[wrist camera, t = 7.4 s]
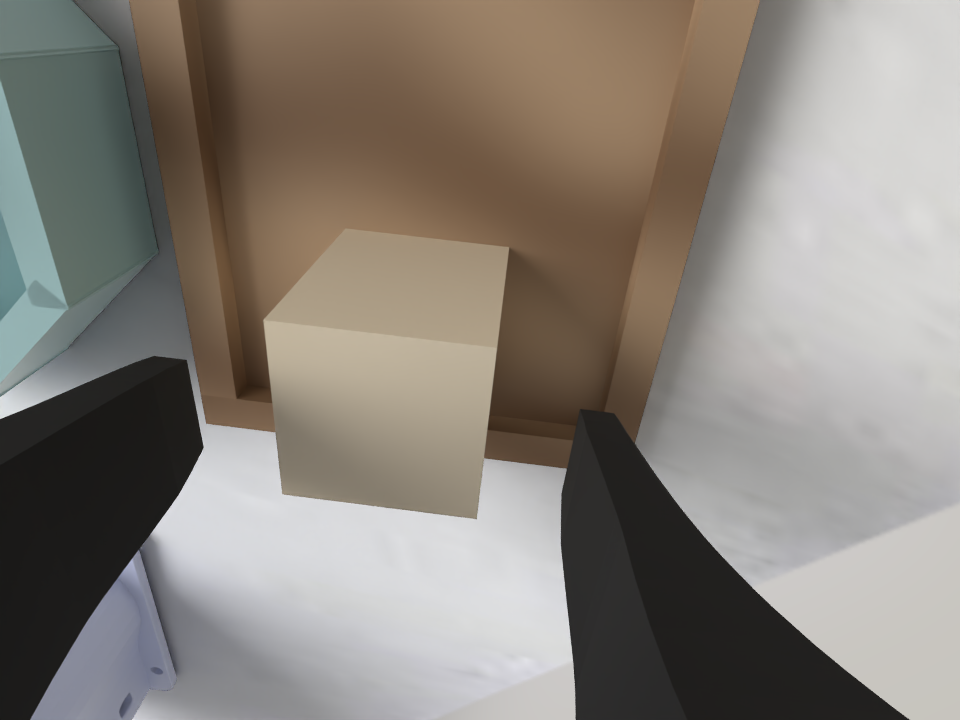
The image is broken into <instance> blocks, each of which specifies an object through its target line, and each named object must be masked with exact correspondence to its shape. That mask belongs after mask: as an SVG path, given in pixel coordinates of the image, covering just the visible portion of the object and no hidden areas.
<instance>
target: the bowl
mask: <svg viewBox="0 0 960 720" xmlns="http://www.w3.org/2000/svg"><path fill="white" fill-rule="evenodd" d="M158 252H159V250H158V248H157V243H156V238H155V233H154V228H153V223H152V218H151V213H150V208H149V203H148V198H147V193H146V188H145V183H144V177H143V172H142V167H141V162H140V157H139V152H138V147H137V142H136V137H135V132H134V127H133V122H132V117H131V112H130V107H129V102H128V97H127V91H126V86H125V81H124V76H123V71H122V66H121V61H120V56H119V48H118V46H117V45H115V44H114V43H113V42H112V41H111V40H110V39H109V38H108V37H107V36H106V35H105V34H104V32H103V31H102V30H101V29H100V28H99V27H98V26H97V25H96V24H95V23H94V22H93V21H92V20H91V19H90V18H89V17H88V16H87V15H86V14H85V13H84V12H83V11H82V10H81V9H80V8H79V7H78V6H77V5H76V4H75V3H74V2H73V1H72V0H0V397H1V396H2V395H3V394H5V393H6V392H8V391H9V390H11V389H12V388H13V387H15V386H16V385H18V384H19V383H20V382H22V381H23V380H25V379H26V378H27V377H29V376H30V375H32V374H33V373H34V372H36V371H37V370H39V369H40V368H41V367H43V366H44V365H46V364H47V363H48V362H50V361H51V360H53V359H54V358H55V357H57V356H58V355H60V354H61V353H62V352H64V351H65V350H67V349H68V348H69V346H70V344H71V343H72V342H73V341H74V340H75V339H76V338H77V337H78V336H79V335H80V334H81V333H82V332H83V331H84V330H85V329H86V328H87V327H88V325H89V324H90V323H91V322H92V321H93V320H94V319H95V318H96V317H97V316H98V315H99V314H100V313H101V312H102V311H103V310H104V309H105V308H106V306H107V305H108V304H109V303H110V302H111V301H112V300H113V299H114V298H115V297H116V296H117V295H118V294H119V293H120V292H121V291H122V290H123V288H124V287H125V286H126V285H127V284H128V283H129V282H130V281H131V280H132V279H133V278H134V277H135V276H136V275H137V274H138V273H139V272H140V271H141V269H142V268H143V267H144V266H145V265H146V264H147V263H148V262H149V261H150V260H151V259H152V258H153V257H154V256H155V255H157V254H158Z"/></svg>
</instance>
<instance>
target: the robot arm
mask: <svg viewBox="0 0 960 720" xmlns="http://www.w3.org/2000/svg"><path fill="white" fill-rule="evenodd" d="M203 448H204V447H203V442H202V437H201V432H200V427H199V422H198V416H197V411H196V406H195V401H194V396H193V391H192V385H191V380H190V375H189V370H188V365H187V360H182V359H174V358H166V357H158V356H153V357H150V358H147V359H144V360H141V361H138V362H135V363H133V364H130V365H128V366H125V367H123V368H120V369H118V370H116V371H113V372H111V373H108V374H106V375H104V376H101V377H99V378H97V379H94V380H92V381H90V382H87V383H85V384H83V385H81V386H78V387H76V388H74V389H71V390H69V391H67V392H64V393H62V394H60V395H57V396H55V397H53V398H50V399H48V400H46V401H43V402H41V403H39V404H37V405H34V406H32V407H29V408H27V409H25V410H22V411H20V412H17V413H15V414H12V415H10V416H7V417H5V418H2V419H0V720H132V719H133V717H134V715H135V714H136V712H137V710H138V708H139V707H140V705H141V703H142V701H143V700H144V698H145V696H146V694H147V693H148V691H149V689H155V690H162V691H168V690H171V689H172V688H173V687H174V685H175V683H176V681H177V677H176V674H175V670H174V667H173V664H172V660H171V657H170V653H169V650H168V647H167V643H166V640H165V636H164V633H163V630H162V626H161V623H160V620H159V616H158V613H157V609H156V606H155V603H154V599H153V596H152V592H151V589H150V586H149V582H148V579H147V575H146V572H145V569H144V565H143V562H142V558H141V555H140V552H139V549H140V547H141V546H142V545H143V543H144V542H145V541H146V539H147V538H148V537H149V535H150V534H151V533H152V531H153V530H154V528H155V527H156V526H157V524H158V523H159V521H160V520H161V519H162V517H163V516H164V515H165V513H166V512H167V510H168V509H169V508H170V506H171V505H172V503H173V502H174V501H175V499H176V498H177V496H178V495H179V493H180V491H181V490H182V488H183V486H184V484H185V482H186V481H187V479H188V477H189V475H190V474H191V472H192V470H193V468H194V466H195V464H196V462H197V460H198V458H199V456H200V454H201V452H202V450H203ZM561 550H562V560H563V570H564V580H565V589H566V598H567V608H568V617H569V626H570V635H571V645H572V654H573V663H574V679H575V697H576V699H575V701H576V702H575V703H576V720H909V719H907V718H906V717H905V716H904V715H902V714H901V713H900V712H898V711H897V710H896V709H894V708H893V707H892V706H890V705H889V704H888V703H887V702H885V701H884V700H883V699H882V698H880V697H879V696H878V695H876V694H875V693H874V692H873V691H871V690H870V689H868V688H867V687H866V686H865V685H864V684H862V683H861V682H860V681H858V680H857V679H856V678H855V677H853V676H852V675H851V674H849V673H848V672H847V671H846V670H844V669H843V668H842V667H841V666H840V665H838V664H837V663H836V662H835V661H834V660H832V659H831V658H830V657H829V656H827V655H826V654H825V653H824V652H823V651H822V650H820V649H819V648H818V647H816V646H815V645H814V644H813V643H812V642H811V641H810V640H808V639H807V638H806V637H805V636H804V635H803V634H802V633H801V632H800V631H799V630H797V629H796V628H795V627H794V626H793V625H792V624H791V623H790V622H788V621H787V620H786V619H785V618H784V617H783V616H782V615H781V614H780V613H778V612H777V611H776V610H775V609H774V608H773V607H771V606H770V604H769V603H768V602H767V601H765V600H764V599H763V598H762V597H761V596H760V595H759V594H758V593H757V592H756V591H755V590H754V589H753V588H752V587H751V586H750V585H749V584H748V583H747V582H746V581H745V580H744V579H743V578H742V577H741V576H740V575H739V574H738V573H737V572H736V571H735V570H734V569H733V567H732V566H731V565H730V564H729V563H728V562H727V561H726V560H725V559H724V558H723V557H722V556H721V555H720V554H719V553H718V552H717V551H716V550H715V548H714V547H713V546H712V545H711V544H710V543H709V542H708V541H707V540H706V538H705V537H704V536H703V535H702V534H701V532H700V531H699V530H698V529H697V528H696V526H695V525H694V524H693V523H692V522H691V520H690V519H689V518H688V517H687V516H686V514H685V513H684V512H683V510H682V509H681V508H680V507H679V505H678V504H677V503H676V501H675V500H674V499H673V497H672V496H671V495H670V493H669V492H668V491H667V489H666V488H665V487H664V485H663V484H662V483H661V481H660V480H659V478H658V477H657V476H656V474H655V473H654V471H653V470H652V469H651V467H650V466H649V464H648V463H647V461H646V460H645V458H644V457H643V455H642V454H641V453H640V451H639V450H638V448H637V447H636V445H635V443H634V442H633V440H632V439H631V437H630V436H629V434H628V433H627V431H626V430H625V428H624V427H623V425H622V423H621V422H620V420H619V419H618V418H617V416H616V415H615V414H614V413H609V412H601V411H593V410H585V409H580V411H579V416H578V420H577V425H576V430H575V434H574V439H573V443H572V448H571V453H570V457H569V462H568V467H567V471H566V476H565V480H564V485H563V490H562V500H561Z"/></svg>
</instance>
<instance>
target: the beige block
mask: <svg viewBox="0 0 960 720" xmlns="http://www.w3.org/2000/svg"><path fill="white" fill-rule="evenodd" d="M508 253H509V247H502V246H494V245H485V244H476V243H468V242H459V241H450V240H441V239H433V238H424V237H415V236H407V235H398V234H389V233H381V232H372V231H363V230H354V229H346V228H345V230H344V231H343V232H342V233H341V234H340V235H339V236H338V237H337V238H336V240H335V241H334V242H333V243H332V244H331V245H330V246H329V247H328V249H327V250H326V251H325V252H324V253H323V254H322V255H321V256H320V257H319V259H318V260H317V261H316V262H315V263H314V264H313V265H312V266H311V267H310V269H309V270H308V271H307V272H306V273H305V274H304V275H303V276H302V278H301V279H300V280H299V281H298V282H297V283H296V284H295V285H294V286H293V288H292V289H291V290H290V291H289V292H288V293H287V294H286V295H285V296H284V298H283V299H282V300H281V301H280V302H279V303H278V304H277V305H276V307H275V308H274V309H273V310H272V311H271V312H270V313H269V314H268V315H267V317H266V318H265V319H264V320H263V321H264V330H265V340H266V349H267V358H268V367H269V376H270V385H271V395H272V404H273V413H274V422H275V431H276V440H277V449H278V459H279V468H280V477H281V486H282V494H284V495H292V496H300V497H308V498H315V499H323V500H331V501H339V502H347V503H355V504H363V505H370V506H378V507H386V508H394V509H402V510H410V511H418V512H425V513H433V514H441V515H449V516H457V517H465V518H473V519H477V511H478V503H479V495H480V486H481V478H482V470H483V461H484V453H485V445H486V436H487V428H488V420H489V412H490V403H491V395H492V387H493V378H494V370H495V362H496V353H497V345H498V337H499V328H500V320H501V312H502V303H503V295H504V287H505V278H506V270H507V262H508Z"/></svg>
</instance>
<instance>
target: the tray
mask: <svg viewBox="0 0 960 720" xmlns="http://www.w3.org/2000/svg"><path fill="white" fill-rule="evenodd" d="M129 3H130V9H131V14H132V20H133V25H134V31H135V36H136V42H137V47H138V53H139V58H140V64H141V69H142V75H143V80H144V85H145V91H146V96H147V102H148V107H149V113H150V118H151V124H152V129H153V135H154V140H155V146H156V151H157V157H158V162H159V168H160V173H161V179H162V184H163V190H164V195H165V200H166V206H167V211H168V217H169V222H170V228H171V233H172V239H173V244H174V250H175V255H176V261H177V266H178V272H179V277H180V283H181V288H182V294H183V299H184V305H185V310H186V315H187V321H188V326H189V332H190V337H191V343H192V348H193V354H194V359H195V365H196V370H197V376H198V381H199V387H200V392H201V398H202V403H203V409H204V414H205V419H206V424H213V425H221V426H230V427H238V428H246V429H254V430H262V431H270V432H276V431H275V422H274V413H273V404H272V395H271V385H270V376H269V367H268V358H267V349H266V340H265V330H264V321H263V320H264V319H265V318H266V317H267V315H268V314H269V313H270V312H271V311H272V310H273V309H274V308H275V307H276V305H277V304H278V303H279V302H280V301H281V300H282V299H283V298H284V296H285V295H286V294H287V293H288V292H289V291H290V290H291V289H292V288H293V286H294V285H295V284H296V283H297V282H298V281H299V280H300V279H301V278H302V276H303V275H304V274H305V273H306V272H307V271H308V270H309V269H310V267H311V266H312V265H313V264H314V263H315V262H316V261H317V260H318V259H319V257H320V256H321V255H322V254H323V253H324V252H325V251H326V250H327V249H328V247H329V246H330V245H331V244H332V243H333V242H334V241H335V240H336V238H337V237H338V236H339V235H340V234H341V233H342V232H343V231H344V230H345V228H346V229H354V230H363V231H372V232H381V233H389V234H398V235H407V236H415V237H424V238H433V239H441V240H450V241H459V242H468V243H476V244H485V245H494V246H502V247H509V253H508V262H507V270H506V278H505V287H504V295H503V303H502V312H501V320H500V328H499V337H498V345H497V353H496V362H495V370H494V378H493V387H492V395H491V403H490V412H489V420H488V428H487V436H486V445H485V453H484V458H486V459H494V460H502V461H511V462H519V463H527V464H535V465H543V466H551V467H559V468H567V467H568V462H569V457H570V453H571V448H572V443H573V439H574V434H575V430H576V425H577V420H578V416H579V411H580V409H585V410H593V411H601V412H609V413H614V414H615V415H616V416H617V418H618V419H619V420H620V422H621V423H622V425H623V427H624V428H625V430H626V431H627V433H628V434H629V436H630V437H631V439H632V440H633V442H634V443H635V440H636V437H637V433H638V430H639V426H640V423H641V419H642V416H643V412H644V408H645V405H646V401H647V398H648V394H649V391H650V387H651V384H652V380H653V377H654V373H655V370H656V366H657V363H658V359H659V356H660V352H661V348H662V345H663V341H664V338H665V334H666V331H667V327H668V324H669V320H670V317H671V313H672V310H673V306H674V303H675V299H676V296H677V292H678V288H679V285H680V281H681V278H682V274H683V271H684V267H685V264H686V260H687V257H688V253H689V250H690V246H691V243H692V239H693V236H694V232H695V228H696V225H697V221H698V218H699V214H700V211H701V207H702V204H703V200H704V197H705V193H706V190H707V186H708V183H709V179H710V176H711V172H712V168H713V165H714V161H715V158H716V154H717V151H718V147H719V144H720V140H721V137H722V133H723V130H724V126H725V123H726V119H727V116H728V112H729V108H730V105H731V101H732V98H733V94H734V91H735V87H736V84H737V80H738V77H739V73H740V70H741V66H742V63H743V59H744V56H745V52H746V48H747V45H748V41H749V38H750V34H751V31H752V27H753V24H754V20H755V17H756V13H757V10H758V6H759V3H760V0H129Z"/></svg>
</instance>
